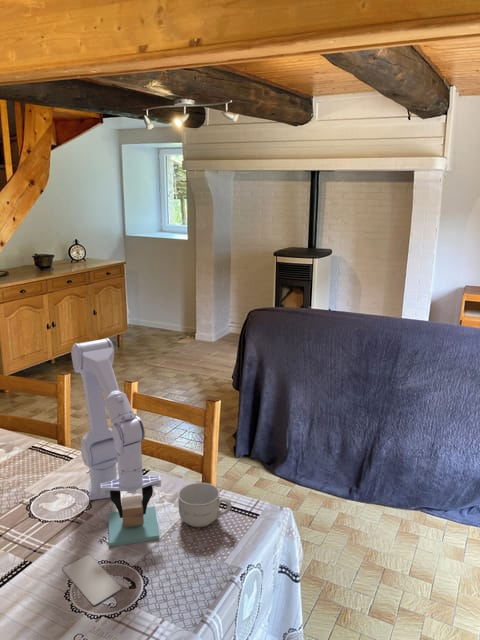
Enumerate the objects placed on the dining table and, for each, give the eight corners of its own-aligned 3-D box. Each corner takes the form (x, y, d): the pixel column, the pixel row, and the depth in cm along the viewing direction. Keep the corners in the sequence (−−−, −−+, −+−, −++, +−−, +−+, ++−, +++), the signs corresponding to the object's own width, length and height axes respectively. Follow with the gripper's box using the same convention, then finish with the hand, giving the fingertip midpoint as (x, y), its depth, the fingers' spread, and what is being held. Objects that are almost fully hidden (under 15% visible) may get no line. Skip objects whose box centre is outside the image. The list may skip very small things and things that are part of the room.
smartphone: (94, 607, 105) (61, 568, 116) (94, 609, 105) (61, 570, 116) (123, 589, 110) (89, 553, 120) (123, 591, 110) (89, 555, 120)
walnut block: (122, 515, 131) (121, 497, 129) (142, 512, 132) (141, 495, 131) (123, 527, 126) (122, 509, 125) (143, 524, 127) (143, 506, 126)
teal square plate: (108, 516, 134) (108, 512, 134) (154, 509, 137) (154, 506, 137) (109, 546, 123) (109, 543, 122) (159, 538, 126) (159, 535, 125)
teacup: (170, 524, 131) (169, 497, 129) (193, 502, 140) (192, 476, 138) (217, 542, 125) (217, 514, 122) (238, 517, 134) (238, 490, 132)
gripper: (99, 478, 120) (102, 528, 123) (161, 470, 123) (163, 519, 127) (99, 463, 126) (102, 510, 130) (158, 455, 130) (160, 502, 133)
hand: (132, 513), depth 129 cm, fingers closed on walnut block, 5 cm apart
